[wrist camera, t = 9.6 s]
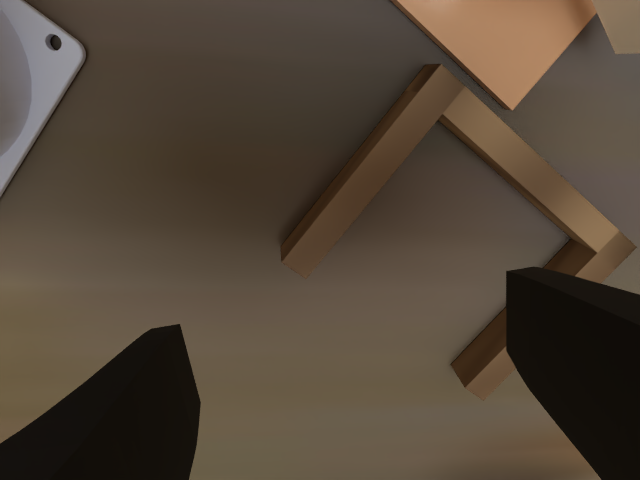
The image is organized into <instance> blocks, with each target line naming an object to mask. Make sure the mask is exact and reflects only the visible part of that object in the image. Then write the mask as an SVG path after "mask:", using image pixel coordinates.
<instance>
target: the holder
mask: <svg viewBox="0 0 640 480" xmlns="http://www.w3.org/2000/svg"><path fill="white" fill-rule="evenodd" d="M437 120H439V121H440V122H441V123H442V124H443V125H444V126H446V127H447V128H448V129H449V130H450V131H451V132H452V133H453V134H455V135H456V136H457V137H458V138H459V139H460V140H461V141H462V142H464V143H465V144H466V145H467V146H468V147H469V148H470V149H471V150H473V151H474V152H475V153H476V154H477V155H478V156H479V157H480V158H482V159H483V160H484V161H485V162H486V163H487V164H488V165H489V166H491V167H492V168H493V169H494V170H495V171H496V172H497V173H498V174H500V175H501V176H502V177H503V178H504V179H505V180H506V181H507V182H509V183H510V184H511V185H512V186H513V187H514V188H515V189H516V190H518V191H519V192H520V193H521V194H522V195H523V196H524V197H525V198H527V199H528V200H529V201H530V202H531V203H532V204H533V205H534V206H536V207H537V208H538V209H539V210H540V211H541V212H542V213H543V214H545V215H546V216H547V217H548V218H549V219H550V220H551V221H552V222H554V223H555V224H556V225H557V226H558V227H559V228H560V229H561V230H563V231H564V232H565V233H566V234H567V235H568V236H569V237H570V238H572V239H571V240H570V241H569V242H568V243H567V244H566V245H565V246H564V247H563V248H562V249H561V250H560V251H559V252H558V253H557V254H556V255H555V256H554V257H553V259H552V260H551V261H550V262H549V263H548V264H547V265H546V266H545V267H544V269H549V270H553V271H557V272H561V273H565V274H569V275H572V276H576V277H579V278H583V279H586V280H590V281H593V282H597V283H600V284H601V283H602V282H603V281H604V280H605V279H606V278H607V277H608V276H609V275H610V274H611V273H612V272H613V271H614V270H615V269H616V268H617V267H618V266H619V265H620V264H621V263H622V262H623V261H624V260H625V259H626V258H627V257H628V256H629V255H630V254H631V253H632V252H633V251H634V250H635V249H636V248H637V247H636V246H635V245H634V244H633V243H632V242H631V241H630V240H629V239H628V238H627V237H626V236H625V235H623V234H622V233H621V232H620V231H619V230H618V229H617V228H616V227H615V226H614V225H613V224H612V223H611V222H610V221H609V220H607V219H606V218H605V217H604V216H603V215H602V214H601V213H600V212H599V211H598V210H597V209H596V208H595V207H594V206H593V205H591V204H590V203H589V202H588V201H587V200H586V199H585V198H584V197H583V196H582V195H581V194H580V193H579V192H578V191H577V190H575V189H574V188H573V187H572V186H571V185H570V184H569V183H568V182H567V181H566V180H565V179H564V178H563V177H562V176H561V175H559V174H558V173H557V172H556V171H555V170H554V169H553V168H552V167H551V166H550V165H549V164H548V163H547V162H546V161H544V160H543V159H542V158H541V157H540V156H539V155H538V154H537V153H536V152H535V151H534V150H533V149H532V148H531V147H530V146H528V145H527V144H526V143H525V142H524V141H523V140H522V139H521V138H520V137H519V136H518V135H517V134H516V133H515V132H514V131H512V130H511V129H510V128H509V127H508V126H507V125H506V124H505V123H504V122H503V121H502V120H501V119H500V118H499V117H498V116H496V115H495V114H494V113H493V112H492V111H491V110H490V109H489V108H488V107H487V106H486V105H485V104H484V103H483V102H482V101H480V100H479V99H478V98H477V97H476V96H475V95H474V94H473V93H472V92H471V91H470V90H469V89H468V88H467V87H466V86H464V85H463V84H462V83H461V82H460V81H459V80H458V79H457V78H456V77H455V76H454V75H453V74H452V73H451V72H450V71H448V70H447V69H446V68H445V67H444V66H443V65H442V64H429V65H425V66H424V67H423V69H422V70H421V71H420V72H419V74H418V75H417V76H416V77H415V79H414V80H413V81H412V82H411V84H410V85H409V86H408V87H407V89H406V90H405V91H404V92H403V94H402V95H401V96H400V97H399V99H398V100H397V101H396V102H395V104H394V105H393V106H392V107H391V109H390V110H389V111H388V112H387V114H386V115H385V116H384V117H383V119H382V120H381V121H380V122H379V124H378V125H377V126H376V128H375V129H374V130H373V131H372V133H371V134H370V135H369V136H368V138H367V139H366V140H365V141H364V143H363V144H362V145H361V146H360V148H359V149H358V150H357V151H356V153H355V154H354V155H353V156H352V158H351V159H350V160H349V161H348V163H347V164H346V165H345V166H344V168H343V169H342V170H341V171H340V173H339V174H338V175H337V176H336V178H335V179H334V180H333V181H332V183H331V184H330V185H329V186H328V188H327V189H326V190H325V192H324V193H323V194H322V195H321V197H320V198H319V199H318V200H317V202H316V203H315V204H314V205H313V207H312V208H311V209H310V210H309V212H308V213H307V214H306V215H305V217H304V218H303V219H302V220H301V222H300V223H299V224H298V225H297V227H296V228H295V229H294V230H293V232H292V233H291V234H290V235H289V237H288V238H287V239H286V240H285V242H284V243H283V244H282V245H281V262H282V263H283V264H285V265H286V266H288V267H289V268H291V269H292V270H293V271H295V272H296V273H298V274H299V275H301V276H302V277H304V278H305V279H306V278H307V277H308V276H309V275H310V274H311V272H312V271H313V270H314V269H315V268H316V266H317V265H318V264H319V263H320V262H321V260H322V259H323V258H324V257H325V256H326V254H327V253H328V252H329V251H330V249H331V248H332V247H333V246H334V245H335V243H336V242H337V241H338V240H339V239H340V237H341V236H342V235H343V234H344V233H345V231H346V230H347V229H348V228H349V226H350V225H351V224H352V223H353V222H354V220H355V219H356V218H357V217H358V216H359V214H360V213H361V212H362V211H363V210H364V208H365V207H366V206H367V205H368V203H369V202H370V201H371V200H372V199H373V197H374V196H375V195H376V194H377V193H378V191H379V190H380V189H381V188H382V187H383V185H384V184H385V183H386V182H387V181H388V179H389V178H390V177H391V176H392V174H393V173H394V172H395V171H396V170H397V168H398V167H399V166H400V165H401V164H402V162H403V161H404V160H405V159H406V158H407V156H408V155H409V154H410V153H411V151H412V150H413V149H414V148H415V147H416V145H417V144H418V143H419V142H420V141H421V139H422V138H423V137H424V136H425V135H426V133H427V132H428V131H429V130H430V128H431V127H432V126H433V125H434V124H435V122H436V121H437ZM451 366H452V368H453V369H454V371H455V372H456V374H457V376H458V377H459V379H460V381H461V382H462V384H463V385H464V387H465V388H466V389H467V390H469V391H470V392H472V393H473V394H475V395H476V396H477V397H479V398H480V399H482V400H483V401H484V400H485V399H486V398H487V397H488V396H489V395H490V394H491V393H492V392H493V391H494V390H495V389H496V388H497V387H498V386H499V385H500V384H501V383H502V382H503V381H504V380H505V379H506V378H507V377H508V376H509V375H510V374H511V373H512V372H513V371H514V370H515V369H516V367H515V365H514V364H513V362H512V360H511V358H510V357H509V355H508V353H507V351H506V308H505V309H504V310H503V311H502V312H501V313H500V314H499V315H498V316H497V317H496V318H495V319H494V320H493V321H492V322H491V323H490V324H489V325H488V326H487V327H486V328H485V329H484V331H483V332H482V333H481V334H480V335H479V336H478V337H477V338H476V339H475V340H474V341H473V342H472V343H471V344H470V345H469V346H468V347H467V348H466V349H465V350H464V351H463V352H462V353H461V355H460V356H459V357H458V358H457V359H456V360H455V361H454V362H453V363H452V364H451Z"/></svg>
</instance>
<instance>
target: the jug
mask: <svg viewBox="0 0 640 480" xmlns="http://www.w3.org/2000/svg"><path fill="white" fill-rule="evenodd" d="M592 2H593V5H594V7H595V9H596V11H597V14H598V16H599V18H600V20H601V22H602V25H603V27H604V29H605V31H606V34H607V36H608V38H609V40H610V43H611V45H612V47H613V49H614V52H615V54H632V53H640V0H592Z"/></svg>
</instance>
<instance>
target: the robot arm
mask: <svg viewBox="0 0 640 480" xmlns="http://www.w3.org/2000/svg"><path fill="white" fill-rule="evenodd" d="M54 35H57V36H58V37H59V38H60V39H61V43H62V45H61V48H60V49H59V50H54V48H53V47H52V46H51V43H50V40H51V37H53V36H54ZM85 58H86V51H85V49H84V47H83V45H82V44H81V43H80V42H79V41H78V40H77V39H76V38H74V37H73V36H72V35H70V34H69V33H67V32H66V31H65V30H63V29H62V28H61V27H59V26H58V25H57V24H55V23H54V22H53V21H51V20H50V19H48V18H47V17H46V16H44V15H43V14H42V13H40V12H39V11H38V10H36V9H35V8H34V7H32V6H31V5H29V4H28V3H27V2H25V1H24V0H0V197H1V195H2V194H3V192H4V191H5V189H6V187H7V186H8V184H9V182H10V181H11V179H12V178H13V176H14V174H15V173H16V171H17V170H18V168H19V166H20V165H21V163H22V162H23V160H24V158H25V157H26V155H27V153H28V152H29V150H30V149H31V147H32V145H33V144H34V142H35V141H36V139H37V137H38V136H39V134H40V132H41V131H42V129H43V128H44V126H45V124H46V123H47V121H48V120H49V118H50V116H51V115H52V113H53V111H54V110H55V108H56V107H57V105H58V103H59V102H60V100H61V99H62V97H63V95H64V94H65V92H66V91H67V89H68V87H69V86H70V84H71V82H72V81H73V79H74V78H75V76H76V74H77V73H78V71H79V70H80V68H81V66H82V65H83V63H84V61H85ZM506 351H507V353H508V355H509V357H510V358H511V360H512V362H513V364H514V365H515V367H516V369H517V371H518V372H519V374H520V375H521V377H522V379H523V380H524V382H525V384H526V385H527V387H528V388H529V390H530V391H531V392H532V393H533V395H534V396H535V397H536V399H537V400H538V401H539V402H540V404H541V405H542V406H543V407H544V409H545V410H546V411H547V412H548V414H549V415H550V416H551V417H552V419H553V420H554V421H555V422H556V424H557V425H558V426H559V427H560V429H561V430H562V431H563V432H564V433H565V435H566V436H567V437H568V438H569V440H570V441H571V442H572V443H573V445H574V446H575V447H576V448H577V449H578V451H579V452H580V453H581V454H582V456H583V457H584V458H585V459H586V461H587V462H588V463H589V464H590V466H591V467H592V468H593V469H594V470H595V472H596V473H597V474H598V476H599V477H600V478H601V480H640V295H639V294H635V293H632V292H628V291H624V290H621V289H617V288H614V287H610V286H607V285H604V284H600V283H597V282H593V281H590V280H586V279H583V278H579V277H576V276H572V275H569V274H565V273H561V272H557V271H553V270H549V269H544V268H538V267H529V268H523V269H517V270H511V271H506ZM200 404H201V402H200V398H199V395H198V391H197V387H196V383H195V379H194V376H193V372H192V368H191V364H190V361H189V357H188V353H187V349H186V345H185V342H184V338H183V334H182V330H181V327H180V324H177V325H171V326H165V327H159V328H153V329H150V330H149V331H147V332H146V333H144V334H143V335H141V336H140V337H139V338H138V339H136V340H135V341H134V342H133V343H131V344H130V345H129V346H128V347H126V348H125V349H124V350H123V351H122V352H121V353H119V354H118V355H117V356H116V357H115V358H113V359H112V360H111V361H110V362H109V363H107V364H106V365H105V366H104V367H103V368H101V369H100V370H99V371H98V372H97V373H95V374H94V375H93V376H92V377H91V378H89V379H88V380H87V381H86V382H84V383H83V384H82V385H81V386H79V387H78V388H77V389H75V390H74V391H73V392H71V393H70V394H69V395H68V396H66V397H65V398H64V399H62V400H61V401H60V402H58V403H57V404H56V405H55V406H53V407H52V408H51V409H49V410H48V411H47V412H45V413H44V414H43V415H41V416H40V417H39V418H37V419H36V420H34V421H33V422H32V423H30V424H29V425H27V426H26V427H24V428H23V429H22V430H20V431H19V432H17V433H16V434H14V435H13V436H11V437H10V438H8V439H7V440H5V441H4V442H2V443H0V480H189V476H190V472H191V468H192V463H193V459H194V454H195V450H196V445H197V436H198V427H199V416H200Z"/></svg>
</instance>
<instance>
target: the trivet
mask: <svg viewBox="0 0 640 480" xmlns="http://www.w3.org/2000/svg"><path fill="white" fill-rule="evenodd" d="M391 1H392V2H393V3H394V4H395V5H396V6H397V7H398V8H399V9H400V10H401V11H402V12H403V13H404V14H405V15H406V16H407V17H408V18H409V19H411V20H412V21H413V22H414V23H415V24H416V25H417V26H418V27H419V28H420V29H421V30H422V31H423V32H424V33H425V34H426V35H427V36H428V37H429V38H431V39H432V40H433V41H434V42H435V43H436V44H437V45H438V46H439V47H440V48H441V49H442V50H443V51H444V52H445V53H446V54H447V55H448V56H450V57H451V58H452V59H453V60H454V61H455V62H456V63H457V64H458V65H459V66H460V67H461V68H462V69H463V70H464V71H465V72H466V73H467V74H468V75H470V76H471V77H472V78H473V79H474V80H475V81H476V82H477V83H478V84H479V85H480V86H481V87H482V88H483V89H484V90H485V91H486V92H487V93H488V94H490V95H491V96H492V97H493V98H494V99H495V100H496V101H497V102H498V103H499V104H500V105H501V106H502V107H503V108H504V109H506V110H513V109H514V108H515V107H516V106H517V104H518V103H519V102H520V101H521V100H522V99H523V97H524V96H525V95H526V94H527V93H528V92H529V91H530V89H531V88H532V87H533V86H534V85H535V84H536V82H537V81H538V80H539V79H540V78H541V77H542V75H543V74H544V73H545V72H546V71H547V70H548V68H549V67H550V66H551V65H552V64H553V63H554V62H555V60H556V59H557V58H558V57H559V56H560V55H561V53H562V52H563V51H564V50H565V49H566V48H567V46H568V45H569V44H570V43H571V42H572V41H573V39H574V38H575V37H576V36H577V35H578V34H579V33H580V31H581V30H582V29H583V28H584V27H585V26H586V24H587V23H588V22H589V21H590V20H591V19H592V17H593V16H594V15H595V14H596V13H597V11H596V9H595V7H594V5H593V2H592V0H391Z"/></svg>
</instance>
